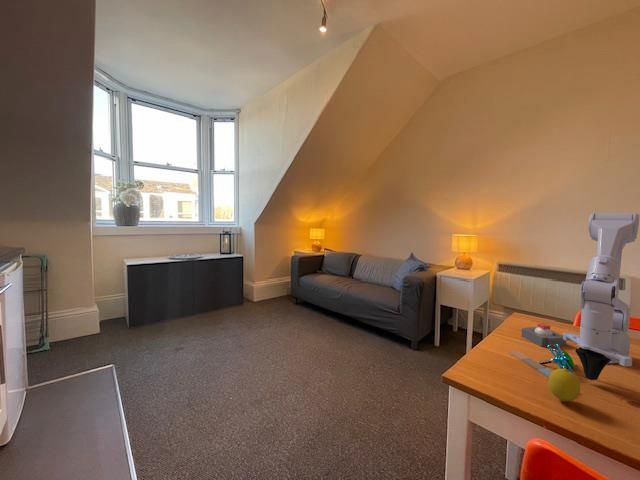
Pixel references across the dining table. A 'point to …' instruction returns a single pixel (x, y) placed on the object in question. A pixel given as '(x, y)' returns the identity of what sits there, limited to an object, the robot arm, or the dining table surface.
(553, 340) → the dome housing
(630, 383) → the dining table surface
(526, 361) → the track tiles
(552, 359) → the stick construction toy
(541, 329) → the dome button
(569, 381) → the lemon
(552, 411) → the dining table surface
